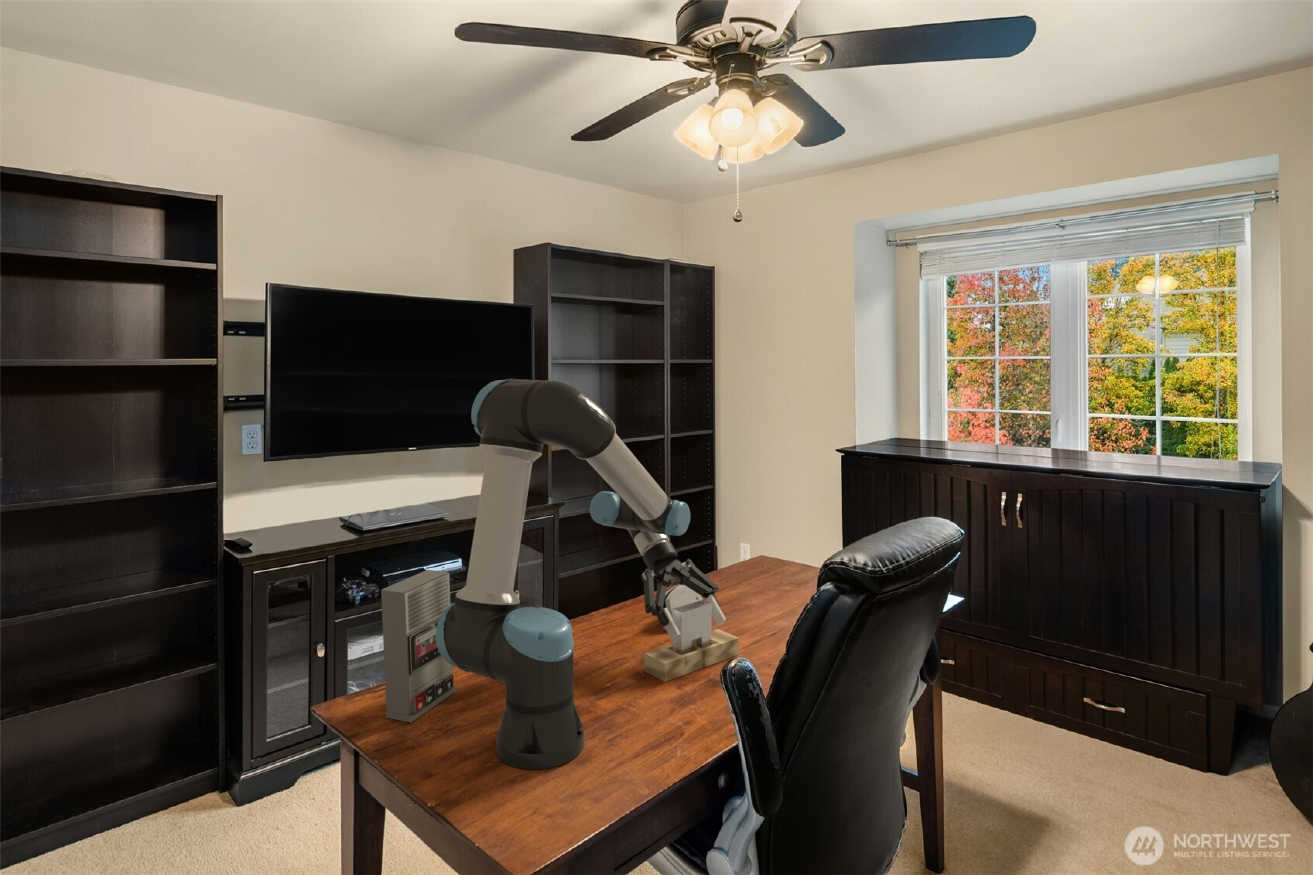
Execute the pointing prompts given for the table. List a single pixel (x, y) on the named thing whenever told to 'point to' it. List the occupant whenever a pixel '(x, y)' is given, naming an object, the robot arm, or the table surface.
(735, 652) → the beige open box
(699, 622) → the grey notched block
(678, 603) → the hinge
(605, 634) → the table surface
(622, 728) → the table surface
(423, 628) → the cassette tape recorder
